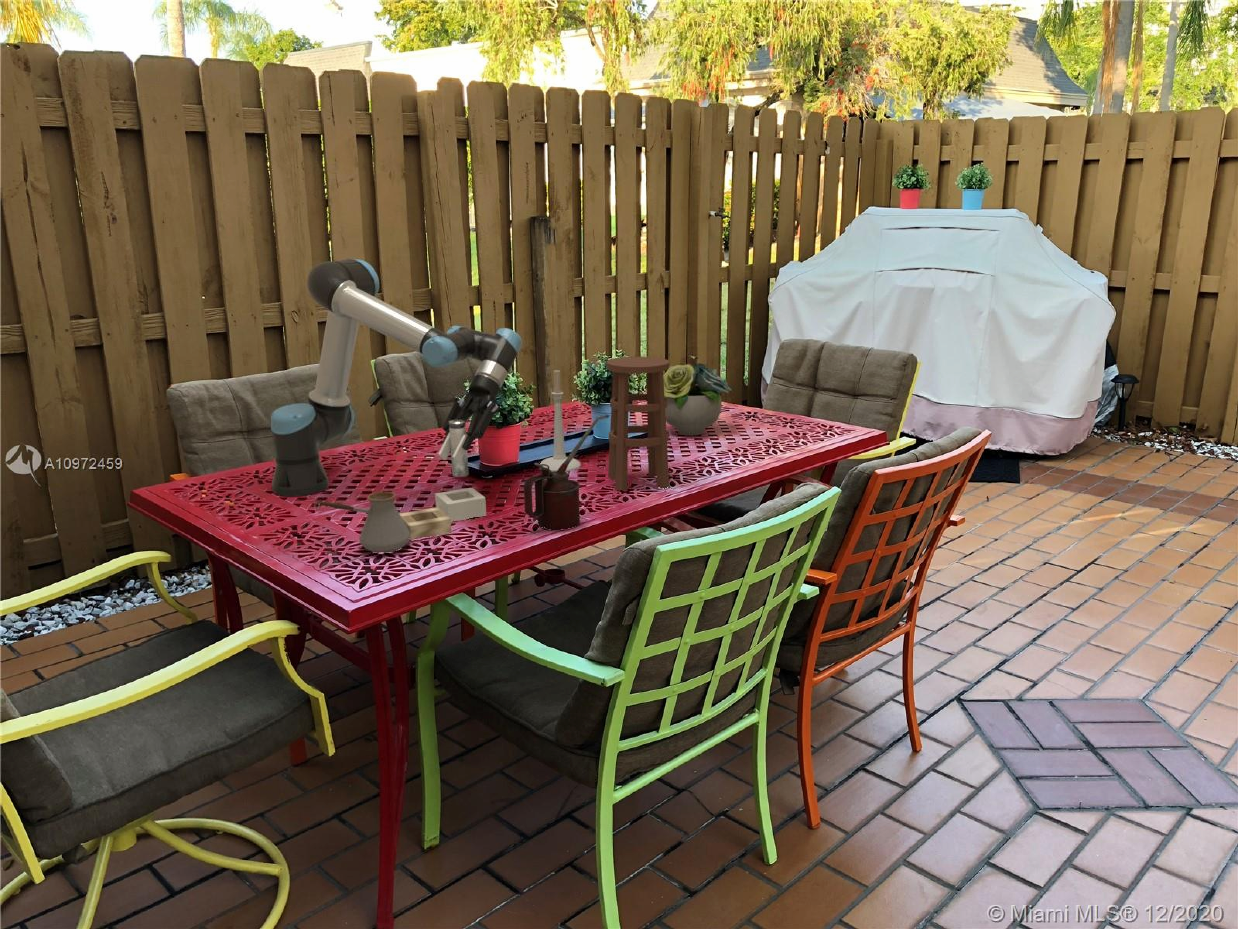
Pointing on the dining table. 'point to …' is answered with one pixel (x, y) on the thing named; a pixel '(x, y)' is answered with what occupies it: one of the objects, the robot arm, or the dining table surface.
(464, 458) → the salt shaker
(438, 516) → the socket block
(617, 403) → the stool
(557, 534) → the dining table surface
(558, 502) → the oil can
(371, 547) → the coffee pot
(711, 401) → the flower arrangement
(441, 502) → the small grey open-top box
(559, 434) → the candlestick
